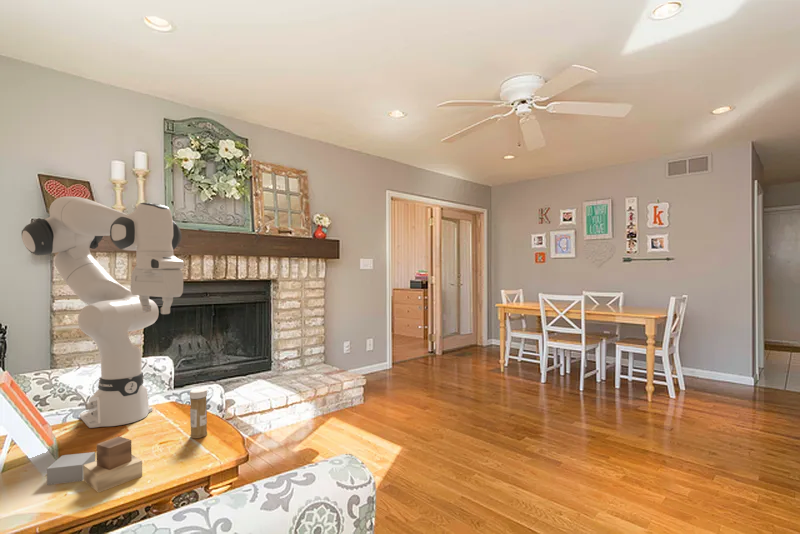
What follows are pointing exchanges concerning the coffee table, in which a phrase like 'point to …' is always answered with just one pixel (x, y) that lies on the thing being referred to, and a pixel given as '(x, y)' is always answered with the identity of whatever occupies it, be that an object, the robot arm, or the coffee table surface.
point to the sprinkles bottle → (198, 413)
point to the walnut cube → (114, 452)
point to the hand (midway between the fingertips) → (155, 312)
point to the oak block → (111, 474)
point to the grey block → (68, 468)
